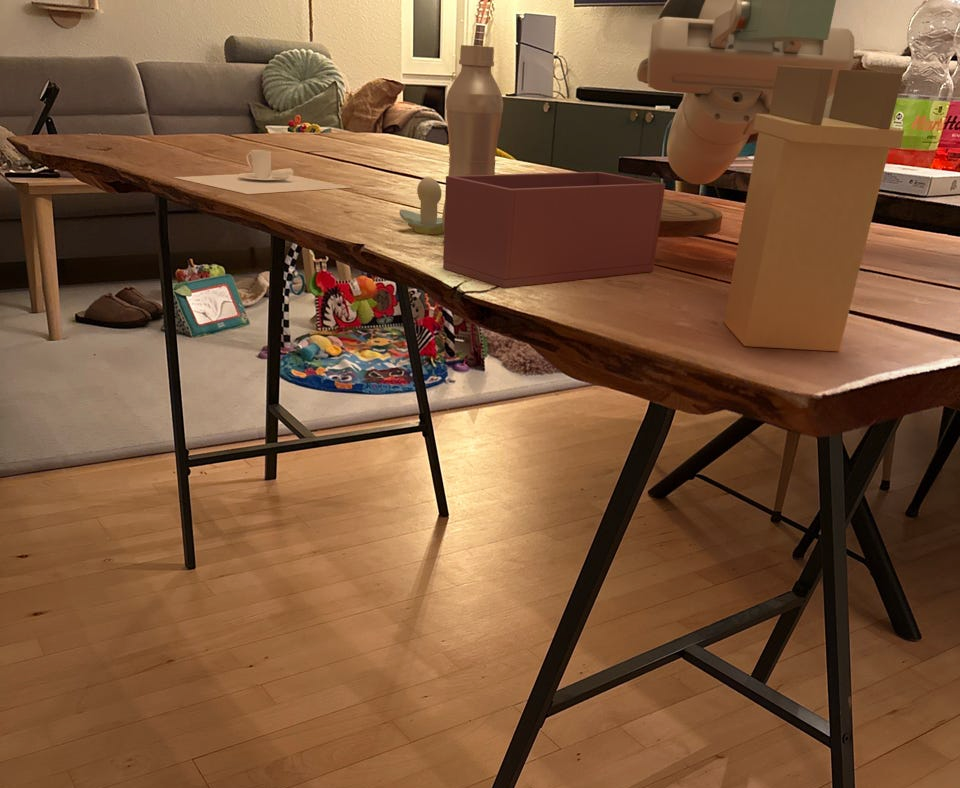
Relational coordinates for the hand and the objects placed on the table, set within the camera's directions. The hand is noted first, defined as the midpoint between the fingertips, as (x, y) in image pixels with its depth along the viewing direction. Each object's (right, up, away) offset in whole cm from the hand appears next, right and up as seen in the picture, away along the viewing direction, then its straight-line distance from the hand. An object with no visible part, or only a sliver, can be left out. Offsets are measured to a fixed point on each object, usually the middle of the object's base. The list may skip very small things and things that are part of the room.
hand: (770, 9), depth 90 cm
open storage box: (-20, -19, +14) cm, 30 cm away
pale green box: (0, -5, -4) cm, 7 cm away
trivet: (-5, +1, +48) cm, 48 cm away
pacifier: (-33, -8, +31) cm, 46 cm away
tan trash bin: (-1, -32, -6) cm, 33 cm away
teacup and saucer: (-61, +13, +62) cm, 88 cm away
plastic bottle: (-28, -12, +25) cm, 40 cm away
